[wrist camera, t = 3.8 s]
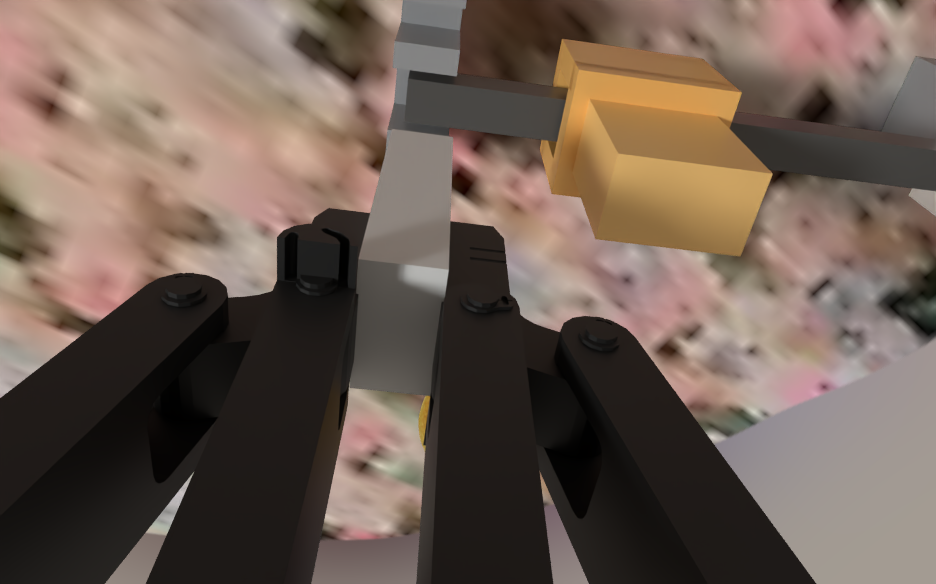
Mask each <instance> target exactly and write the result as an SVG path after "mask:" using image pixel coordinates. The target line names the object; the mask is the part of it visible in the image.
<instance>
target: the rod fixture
mask: <svg viewBox="0 0 936 584" xmlns="http://www.w3.org/2000/svg"><path fill="white" fill-rule="evenodd" d="M466 1H467V0H403V6H402V18H401V24H400V27H399V30H398V33H397V36H396V39H395V45H394V58H393V68H397V76H396V88H395V100H394V106H393V110H392V114H391V118H390V122H389V126H388V131H387V144H386V150H387V147H388V143H389V139H390V135H391V131H392V129H396V130H404V131H412V132H419V133H427V134H434V135H442V136H449V128H455V129H463V130H471V131H478V132H486V133H493V134H501V135H509V136H516V137H524V138H532V139H539V140H547V141H555V142H557V140H558V135H559V130H560V126H561V121H562V116H563V112H564V107H565V102H566V98H567V93H568V89H567V88H560V87H553V86H546V85H538V84H531V83H524V82H516V81H509V80H502V79H495V78H487V77H480V76H473V75H466V74H458V73H457V71H458V63H459V55H460V26H461V18H462V10H463V9H466ZM730 130H731V131H732V132H733V133H734V134H735V135H736V136H737V137H738V138H739V139H740V140H741V141H742V142H743V143H744V144H745V145H746V147H747V148H748V149H749V150H750V151H751V152H752V153H753V154H754V155H755V156H756V157H757V158H758V159H759V160H760V161H761V162H762V163H763V164H764V165H765V166H766V167H767V168H768V169H769V170H776V171H784V172H792V173H799V174H807V175H814V176H822V177H830V178H837V179H845V180H853V181H860V182H868V183H876V184H883V185H891V186H899V187H906V188H912V190H911V192H910V194H909V195H908V196H910V197H911V198H912V199H914V200H915V201H916V202H918V203H919V204H920V205H921V206H923V207H924V208H925V209H927V210H928V211H929V212H930V213H932V214H933V215H934V216H936V59H930V58H923V57H917V56H916V57H915V59H914V62H913V64H912V66H911V68H910V70H909V72H908V75H907V77H906V79H905V81H904V83H903V85H902V87H901V90H900V92H899V94H898V96H897V98H896V100H895V103H894V105H893V107H892V109H891V111H890V113H889V115H888V118H887V120H886V122H885V124H884V126H883V128H882V131H881V132H880V131H873V130H866V129H858V128H851V127H844V126H837V125H829V124H822V123H815V122H808V121H800V120H793V119H786V118H778V117H771V116H764V115H757V114H749V113H742V112H735V114H734V117H733V120H732V123H731V126H730Z"/></svg>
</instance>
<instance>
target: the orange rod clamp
mask: <svg viewBox="0 0 936 584" xmlns="http://www.w3.org/2000/svg"><path fill="white" fill-rule="evenodd" d="M553 87H560V88H567V89H568V93H567V98H566V102H565V107H564V112H563V116H562V121H561V126H560V130H559V135H558V140H557V142H555V141H547V140H542V141H541V146H540V152H541V156H542V159H543V163H544V167H545V170H546V174H547V178H548V181H549V185H550V189H551V193H552V194H557V195H565V196H573V197H581V199H582V202H583V205H584V208H585V211H586V213H587V216H588V219H589V222H590V225H591V228H592V230H593V233H594V236H595V239H599V240H608V241H616V242H624V243H633V244H641V245H649V246H658V247H666V248H674V249H683V250H691V251H700V252H708V253H716V254H725V255H733V256H741V253H742V251H743V248H744V246H745V243H746V241H747V238H748V236H749V233H750V231H751V228H752V225H753V223H754V220H755V218H756V215H757V213H758V210H759V208H760V205H761V203H762V200H763V197H764V195H765V192H766V190H767V187H768V185H769V182H770V180H771V177H772V175H773V173H772V172H771V171H770V170H769V169H768V168H767V167H766V166H765V165H764V164H763V163H762V162H761V161H760V160H759V159H758V158H757V157H756V156H755V155H754V154H753V153H752V152H751V151H750V150H749V149H748V148H747V147H746V145H745V144H744V143H743V142H742V141H741V140H740V139H739V138H738V137H737V136H736V135H735V134H734V133H733V132H732V131H731V130H730V126H731V123H732V120H733V117H734V114H735V111H736V108H737V105H738V102H739V100H740V97H741V94H742V92H741V91H739V90H738V89H737V88H736V87H735V86H734V85H733V84H731V83H730V82H729V81H728V80H727V79H726V78H724V77H723V76H722V75H721V74H720V73H719V72H717V71H716V70H715V69H714V68H713V67H712V66H710V65H709V64H708V63H707V62H706V61H705V60H704V59H700V58H693V57H686V56H679V55H672V54H665V53H658V52H651V51H644V50H637V49H630V48H623V47H616V46H609V45H602V44H595V43H588V42H581V41H574V40H567V39H562V42H561V47H560V52H559V57H558V62H557V67H556V72H555V77H554V81H553Z"/></svg>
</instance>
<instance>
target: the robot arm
mask: <svg viewBox="0 0 936 584" xmlns="http://www.w3.org/2000/svg"><path fill="white" fill-rule="evenodd" d="M452 154H453V137H449V136H442V135H434V134H427V133H419V132H412V131H404V130H396V129H392V131H391V135H390V139H389V143H388V147H387V150H386V154H385V158H384V162H383V166H382V170H381V174H380V177H379V181H378V185H377V189H376V193H375V197H374V201H373V204H372V208H371V212H370V213H364V212H356V211H347V210H339V209H331V208H328V209H327V210H325V211H324V212H322V213H321V214H319V215H318V216H316V217H315V218H314V220H313V222H312V224H304V225H298V226H293V227H291V228H289V229H286V230H284V231H283V232H282V233H281V234H280V235H279V236H278V237H277V282H276V284H275V286H274V289H273V291H271V292H268V293H264V294H261V295H254V296H247V297H233V298H228V294H227V288H226V286H225V285H224V284H222V283H221V282H220V281H219V280H217V279H215V278H212V277H210V276H207V275H201V274H195V273H185V274H183V273H178V274H173V275H170V276H166V277H162V278H159V279H157V280H155V281H153V282H151V283H149V284H147V285H146V286H145V287H143V288H142V289H141V290H140V291H138V292H137V293H136V294H134V295H133V296H132V297H130V298H129V299H128V300H127V301H125V302H124V303H123V304H121V305H120V306H119V307H118V308H116V309H115V310H114V311H112V312H111V313H110V314H109V315H107V316H106V317H105V318H103V319H102V320H101V321H99V322H98V323H97V324H96V325H94V326H93V327H92V328H90V329H89V330H88V331H87V332H85V333H84V334H83V335H81V336H80V337H79V338H78V339H76V340H75V341H74V342H72V343H71V344H70V345H68V346H67V347H66V348H65V349H63V350H62V351H61V352H59V353H58V354H57V355H56V356H54V357H53V358H52V359H50V360H49V361H48V362H47V363H45V364H44V365H43V366H41V367H40V368H39V369H37V370H36V371H35V372H34V373H32V374H31V375H30V376H28V377H27V378H26V379H25V380H23V381H22V382H21V383H19V384H18V385H17V386H16V387H14V388H13V389H12V390H10V391H9V392H8V393H6V394H5V395H4V396H3V397H1V398H0V584H105V583H106V581H107V580H108V579H109V578H110V576H111V575H112V574H113V573H114V571H115V570H116V569H117V568H118V566H119V565H120V564H121V563H122V561H123V560H124V559H125V558H126V556H127V555H128V554H129V553H130V551H131V550H132V549H133V547H134V546H135V545H136V544H137V542H138V541H139V540H140V539H141V537H142V536H143V535H144V534H145V532H146V531H147V530H148V529H149V527H150V526H151V525H152V524H153V522H154V521H155V520H156V519H157V517H158V516H159V515H160V514H161V512H162V511H163V510H164V509H165V507H166V506H167V505H168V504H169V502H170V501H171V500H172V499H173V497H174V496H175V495H176V493H177V492H178V491H179V490H180V488H181V487H182V486H183V485H184V483H185V482H186V481H187V480H188V478H189V477H190V476H191V475H192V473H193V472H194V473H193V476H192V478H191V480H190V483H189V485H188V487H187V490H186V492H185V494H184V497H183V499H182V501H181V504H180V506H179V508H178V510H177V513H176V515H175V517H174V520H173V522H172V524H171V527H170V529H169V531H168V534H167V536H166V538H165V541H164V543H163V545H162V547H161V550H160V552H159V555H158V557H157V559H156V561H155V564H154V566H153V568H152V571H151V573H150V575H149V578H148V580H147V582H146V584H311V582H312V576H313V572H314V567H315V562H316V557H317V552H318V548H319V543H320V538H321V533H322V528H323V523H324V518H325V513H326V509H327V504H328V499H329V494H330V489H331V484H332V479H333V474H334V469H335V465H336V460H337V455H338V450H339V445H340V440H341V435H342V430H343V426H344V421H345V416H346V411H347V406H348V391H349V382H350V388H358V389H368V390H377V391H387V392H397V393H406V394H416V395H426V396H430V401H429V408H428V415H427V422H426V429H425V436H424V443H423V445H425V446H426V447H425V462H424V477H423V492H422V507H421V522H420V537H419V553H418V567H417V582H416V584H553V578H552V570H551V561H550V553H549V545H548V538H547V529H546V521H545V513H544V504H543V496H542V488H541V480H540V472H541V475H542V477H543V479H544V481H545V484H546V486H547V488H548V491H549V493H550V495H551V497H552V500H553V502H554V504H555V507H556V509H557V511H558V513H559V516H560V518H561V520H562V523H563V525H564V527H565V530H566V532H567V534H568V536H569V539H570V541H571V543H572V546H573V548H574V550H575V552H576V555H577V557H578V559H579V562H580V564H581V566H582V569H583V571H584V573H585V576H586V578H587V580H588V582H589V584H816V583H815V581H814V580H813V579H812V577H811V576H810V574H809V573H808V572H807V570H806V569H805V568H804V566H803V565H802V564H801V562H800V561H799V560H798V558H797V557H796V555H795V554H794V553H793V551H792V550H791V549H790V547H789V546H788V545H787V543H786V542H785V540H784V539H783V538H782V536H781V535H780V534H779V533H778V531H777V530H776V528H775V527H774V526H773V524H772V523H771V521H770V520H769V519H768V517H767V516H766V515H765V513H764V512H763V511H762V509H761V508H760V506H759V505H758V504H757V502H756V501H755V500H754V499H753V497H752V496H751V494H750V493H749V492H748V490H747V489H746V488H745V486H744V485H743V483H742V482H741V481H740V479H739V478H738V477H737V475H736V474H735V472H734V471H733V470H732V468H731V467H730V466H729V464H728V463H727V462H726V460H725V459H724V457H723V456H722V455H721V453H720V452H719V451H718V449H717V448H716V447H715V445H714V444H713V443H712V441H711V440H710V438H709V437H708V436H707V434H706V433H705V432H704V430H703V429H702V428H701V426H700V425H699V423H698V422H697V421H696V419H695V418H694V417H693V415H692V414H691V413H690V411H689V410H688V409H687V407H686V406H685V404H684V403H683V402H682V400H681V399H680V398H679V396H678V395H677V394H676V392H675V391H674V389H673V388H672V387H671V385H670V384H669V383H668V381H667V380H666V379H665V377H664V376H663V375H662V373H661V372H660V370H659V369H658V368H657V366H656V365H655V364H654V362H653V361H652V360H651V358H650V357H649V355H648V354H647V353H646V351H645V350H644V349H643V347H642V346H641V345H640V343H639V342H638V340H637V339H636V338H635V337H634V336H633V335H632V334H631V333H630V332H629V331H628V330H627V329H626V328H624V327H622V326H620V325H619V324H617V323H615V322H613V321H611V320H608V319H604V318H600V317H590V316H582V317H576V318H572V319H570V320H568V321H567V322H565V323H564V324H563V326H562V329H561V331H560V332H557V331H554V330H551V329H547V328H544V327H542V326H539V325H536V324H534V323H532V322H530V321H529V320H527V319H525V318H524V317H522V316H521V315H520V308H519V305H518V303H517V301H516V299H515V298H514V297H512V296H511V295H510V290H509V281H508V272H507V264H506V254H505V245H504V238H503V237H502V236H501V235H500V234H499V233H498V232H497V230H496V229H495V228H494V227H492V226H484V225H476V224H468V223H460V222H452V221H450V216H451V185H452ZM539 470H540V472H539Z"/></svg>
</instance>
